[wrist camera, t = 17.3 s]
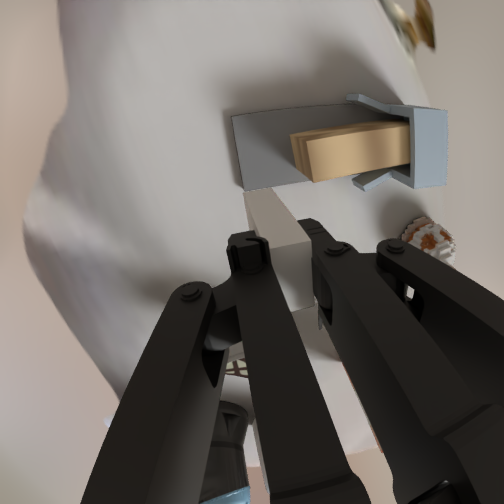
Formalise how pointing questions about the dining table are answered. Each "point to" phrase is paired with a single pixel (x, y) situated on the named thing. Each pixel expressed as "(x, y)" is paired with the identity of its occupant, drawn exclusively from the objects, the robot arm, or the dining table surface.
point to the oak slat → (351, 148)
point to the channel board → (318, 117)
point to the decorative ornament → (431, 239)
